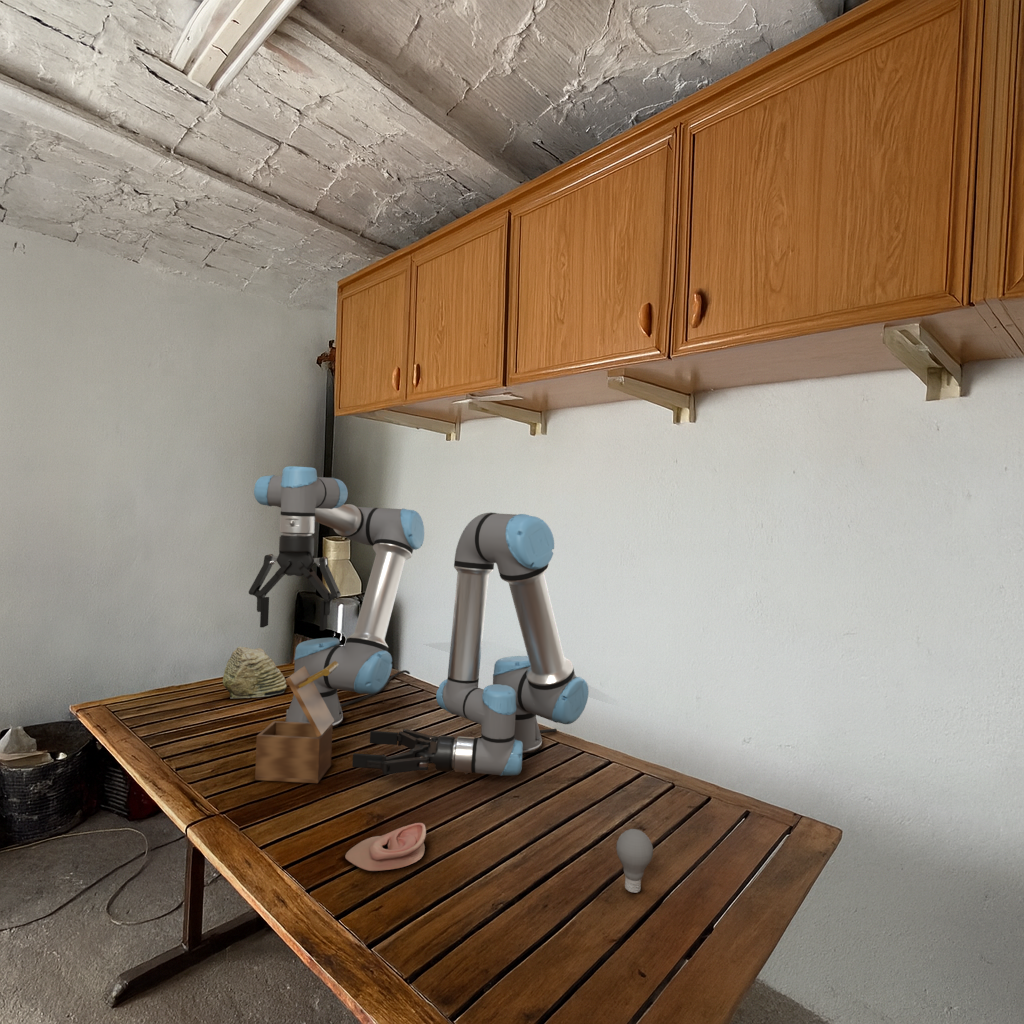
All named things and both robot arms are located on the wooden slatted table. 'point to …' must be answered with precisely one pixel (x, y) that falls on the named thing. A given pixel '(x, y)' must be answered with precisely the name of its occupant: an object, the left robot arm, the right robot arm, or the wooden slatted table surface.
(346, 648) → the left robot arm
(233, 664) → the fossil
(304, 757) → the chest
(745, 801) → the wooden slatted table surface
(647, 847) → the light bulb
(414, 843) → the anatomical model
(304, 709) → the panel with bar handle
